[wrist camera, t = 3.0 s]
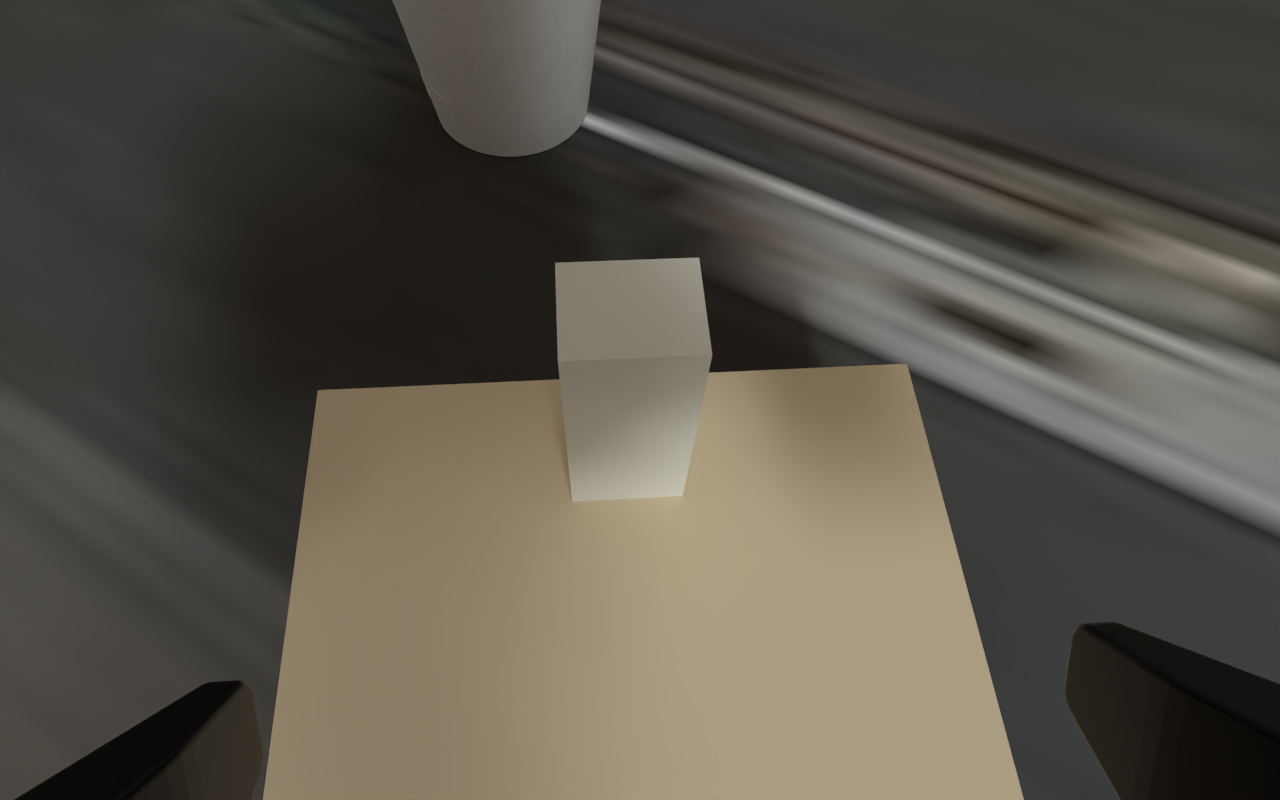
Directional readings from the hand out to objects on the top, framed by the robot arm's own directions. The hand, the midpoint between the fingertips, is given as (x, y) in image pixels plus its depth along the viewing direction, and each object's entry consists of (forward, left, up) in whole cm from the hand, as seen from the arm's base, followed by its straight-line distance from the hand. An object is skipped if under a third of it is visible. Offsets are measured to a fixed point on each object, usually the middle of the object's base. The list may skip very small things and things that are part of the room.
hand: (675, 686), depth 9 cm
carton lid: (+1, +2, -9) cm, 9 cm away
